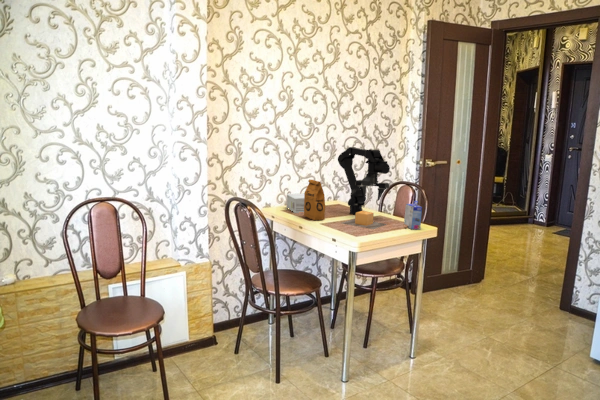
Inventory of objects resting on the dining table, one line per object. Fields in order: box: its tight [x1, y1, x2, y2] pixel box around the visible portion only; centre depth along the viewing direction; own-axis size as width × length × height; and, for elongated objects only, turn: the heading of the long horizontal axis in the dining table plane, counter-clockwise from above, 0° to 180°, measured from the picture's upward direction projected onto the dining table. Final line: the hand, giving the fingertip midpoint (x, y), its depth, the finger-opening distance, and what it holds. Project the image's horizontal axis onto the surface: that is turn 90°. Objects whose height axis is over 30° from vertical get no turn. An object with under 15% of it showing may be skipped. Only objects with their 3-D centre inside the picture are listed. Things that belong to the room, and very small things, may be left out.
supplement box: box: [286, 192, 305, 214], centre depth 278 cm, size 17×13×9 cm
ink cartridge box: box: [403, 200, 423, 230], centre depth 238 cm, size 10×6×14 cm, turn 11°
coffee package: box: [303, 179, 326, 221], centre depth 253 cm, size 10×12×22 cm
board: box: [341, 218, 388, 230], centre depth 240 cm, size 20×16×1 cm
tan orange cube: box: [354, 210, 374, 226], centre depth 240 cm, size 7×7×6 cm
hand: (371, 199), depth 254 cm, fingers open, 9 cm apart
